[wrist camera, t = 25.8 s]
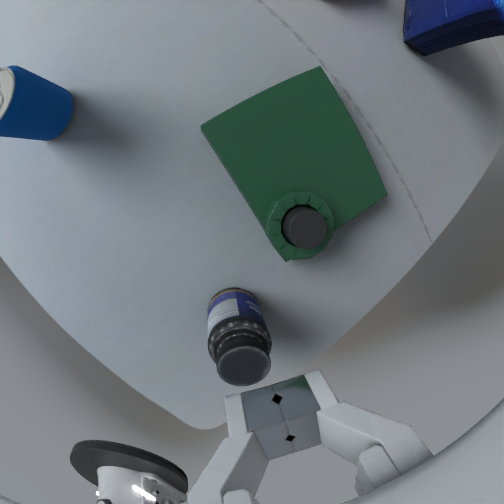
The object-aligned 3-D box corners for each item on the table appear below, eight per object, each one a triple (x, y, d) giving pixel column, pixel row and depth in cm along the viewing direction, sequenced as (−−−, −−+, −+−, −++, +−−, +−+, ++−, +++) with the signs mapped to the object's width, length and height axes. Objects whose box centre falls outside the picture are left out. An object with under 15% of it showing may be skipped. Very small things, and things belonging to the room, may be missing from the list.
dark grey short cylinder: (324, 231, 27) (332, 235, 25) (294, 250, 27) (300, 257, 25) (307, 199, 26) (315, 202, 24) (276, 219, 26) (281, 223, 24)
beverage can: (59, 79, 22) (4, 50, 10) (85, 109, 24) (28, 85, 12) (26, 120, 22) (-36, 109, 11) (50, 152, 24) (-16, 150, 13)
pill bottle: (266, 316, 34) (290, 374, 23) (223, 338, 34) (231, 401, 23) (243, 276, 32) (260, 327, 21) (197, 301, 32) (194, 359, 22)
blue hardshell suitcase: (401, -12, 23) (479, -57, 4) (426, 5, 24) (506, -29, 5) (396, 43, 26) (502, 0, 7) (423, 62, 27) (529, 35, 8)
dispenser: (373, 193, 32) (397, 198, 27) (277, 256, 32) (289, 271, 27) (309, 74, 26) (326, 60, 22) (198, 131, 27) (197, 124, 22)
